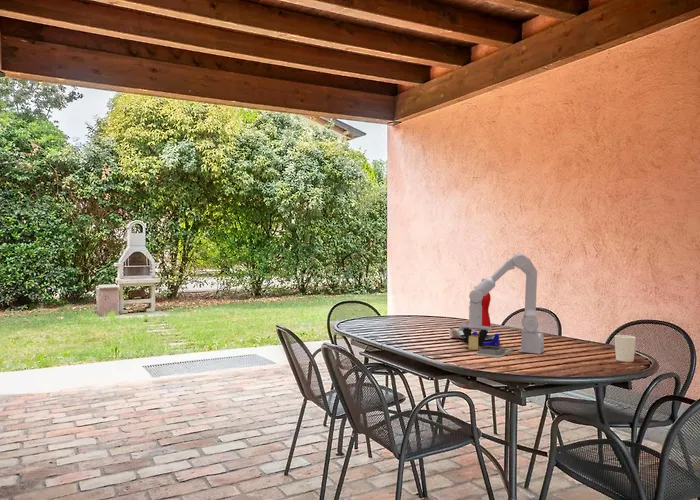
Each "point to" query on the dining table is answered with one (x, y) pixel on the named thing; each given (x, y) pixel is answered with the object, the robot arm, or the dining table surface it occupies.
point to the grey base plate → (493, 351)
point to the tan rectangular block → (474, 342)
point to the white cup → (625, 348)
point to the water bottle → (485, 310)
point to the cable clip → (494, 342)
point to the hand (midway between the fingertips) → (475, 345)
